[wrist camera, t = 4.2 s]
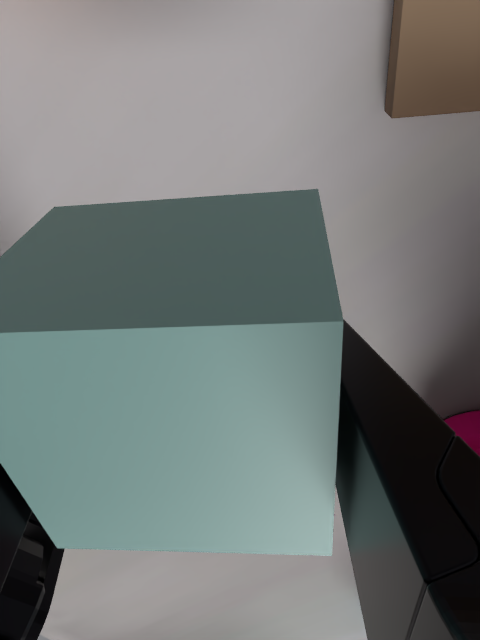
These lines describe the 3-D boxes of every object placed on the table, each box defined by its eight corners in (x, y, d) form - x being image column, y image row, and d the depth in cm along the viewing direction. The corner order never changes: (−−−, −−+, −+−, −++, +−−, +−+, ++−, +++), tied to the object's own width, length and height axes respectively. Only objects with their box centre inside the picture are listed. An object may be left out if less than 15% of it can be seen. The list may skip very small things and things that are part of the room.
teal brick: (316, 389, 11) (331, 556, 8) (120, 392, 11) (57, 548, 8) (317, 189, 8) (343, 320, 5) (53, 206, 8) (-85, 335, 5)
